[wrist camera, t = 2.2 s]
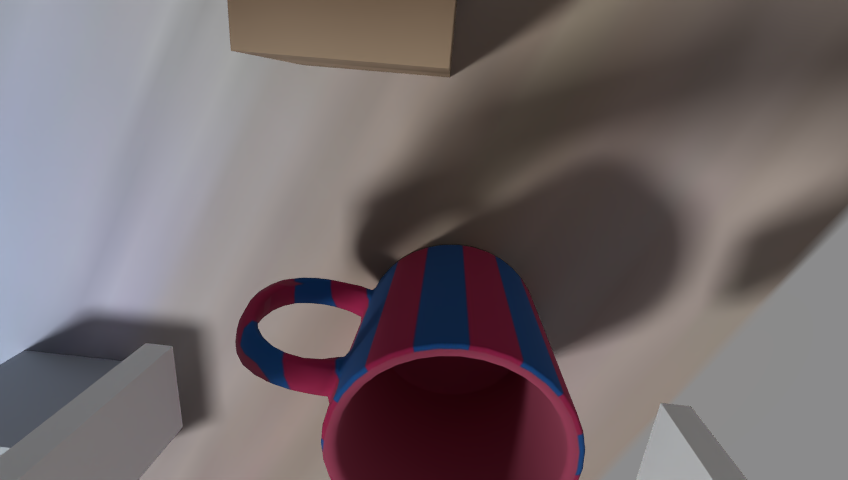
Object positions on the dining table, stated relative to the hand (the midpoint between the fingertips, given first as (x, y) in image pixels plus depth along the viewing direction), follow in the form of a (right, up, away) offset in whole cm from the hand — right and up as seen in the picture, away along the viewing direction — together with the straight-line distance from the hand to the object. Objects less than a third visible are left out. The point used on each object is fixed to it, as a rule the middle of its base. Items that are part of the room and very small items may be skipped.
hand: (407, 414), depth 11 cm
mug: (0, +2, +6) cm, 6 cm away
